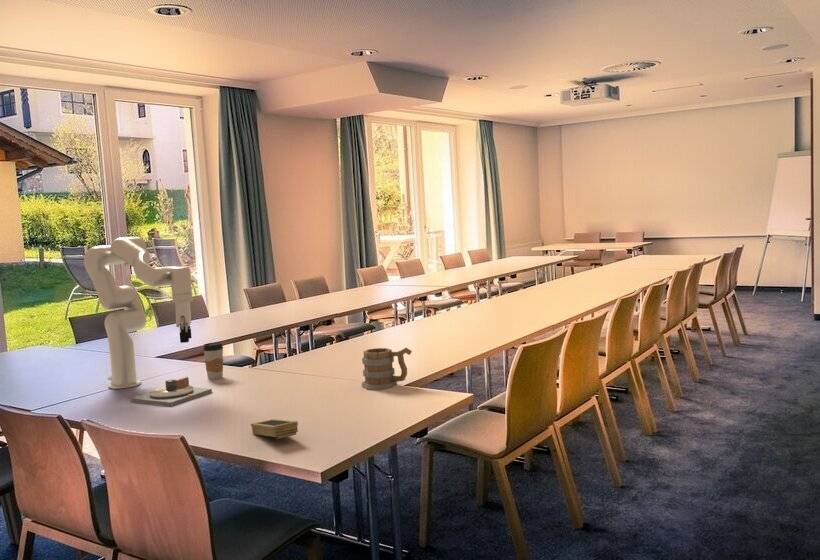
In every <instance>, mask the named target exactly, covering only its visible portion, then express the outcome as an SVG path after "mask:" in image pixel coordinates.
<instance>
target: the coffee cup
mask: <svg viewBox="0 0 820 560" xmlns="http://www.w3.org/2000/svg"><path fill="white" fill-rule="evenodd" d="M223 349H224V345H223V344H222V342H217V341H216V342H209V343H205V344H204V345H203V350H202V351H203V355H204V362H205V364H204V365H205V369H206V376H207V379H208V380H211V381H215V380H222V378H223V376H224V358H223V357H224V352H223V351H224V350H223Z"/></svg>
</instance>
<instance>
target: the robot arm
mask: <svg viewBox="0 0 820 560" xmlns="http://www.w3.org/2000/svg"><path fill="white" fill-rule="evenodd" d="M150 262H151V254H150V252H149V251H148V250H147V243H146V242H145V240H143V238H141V237H139V236H126V237H125V236H124V237H118V238H115V239H114V240H113V241H112V242H111V243H110V244H109V245H107V244H106V245H105V244H104V245H97V246H96V245H95V246H93V247H90V248H88V249H87V250H86V252H85V255H84V259H83V264H84V268H85V271H86V272H87V274H88V277H89V278H90V279H91V281H92V284H93V287H94V289H95V292H96V294H97V297H98V301H99V303H100V304H101V307H102V308H103V309H104V310H106V311H113V312H111V313H109V314H108V315H107V316H106V317H105V318H104V319H105V320H104V329H105V332H106V336H107V339H108V346H109V347H108V349H109V359H110V371H111V374H110V376H108V377H107V380H108V381H110V382H111V383H109V384H108V388H109V389H113V390H117V389H118V390H119V389H120V390H121V389H129V388H133V387H134V388H135V387H137V386H139V385H141V384H142V381H141V380H140V379H138V378H137V369H136V357H135V355H136V354H135V346H134V344H135V343H134V341H133V339H132V337H131V336H130V334H129V333H131V332H133V333H134V332H137V331H141V330H143V329H144V328H145V327H146V324H147V317H146V313H145V311H144V308H143V304H142V302H141V299H140V297H139V294H138V292H137V291H136V290H135V288H133V287H132V286H130V285H121V286H120V285H118V284H117V282H116V279H115V276H114V274H113V273H112V272H111V271H110V270H109V269H108V268H107V267H106V266H114V265H115V266H116V265H122V264H127V265H129V266H130V267H132V268H133V271H134V274H135V276H136V278H137V279H138V280H139V281H141V282H142V283H144V284H146V285H148V286H150V287H153V288H158V287H163V286H164V287H165V286H166V287H167V286H171V295H172V296H171V297H172V303H175V308H174V309H175V326H176V327H175V328H179V342H180V343H181V344H182V343H185V344H186V343H189V341H190V339H192V328H191V324H192V313H191V302H193V301H194V300H193V299H194V298H193V287H192V276H191V269H190V267H189V266H172V265H171V266H170V265H169V266H159V267H153V266H151V265H149V263H150ZM120 309H123V310H120ZM114 310H119V311H114Z"/></svg>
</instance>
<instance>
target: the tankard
mask: <svg viewBox="0 0 820 560" xmlns="http://www.w3.org/2000/svg"><path fill="white" fill-rule="evenodd" d="M412 352H413V351H412V350H411V349H409V348H407V347H405V348H403V349H401V350H398V351H392V349H390V348H387V347H375V348H369V349H366V350H363V357H362V359H361V360H362V361H361V362H362V364H363V365H364V369H363V370H362V376H363V377H364V380H363V382H361V387H362V388H364V389H366V390H371V391H372V390H373V391H381V390H382V391H383V390H388V389H393V388H395V386H397V385H398V382H403V381H406V378H407V376H408V367H407V365H406V362H405V358H404V355H405V354H407V355H409V356H410V355H411V354H412ZM395 357H397V362H398V365H399V368H400V370H401V374H400V375H395V374H396V373H395V367H393V363H394V361H395Z"/></svg>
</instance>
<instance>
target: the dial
mask: <svg viewBox="0 0 820 560" xmlns="http://www.w3.org/2000/svg"><path fill="white" fill-rule="evenodd" d="M164 384H165V385H164V386H161V387H157V388H154V389H152V390H149V393H150V397H153V398H170V397H177V396H182V395H186V394H189V393H191V392H193V387H194V386H193V385H190V380H189V377H188V376H185V377H181V378H179V379H167V380H165V383H164Z"/></svg>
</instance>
